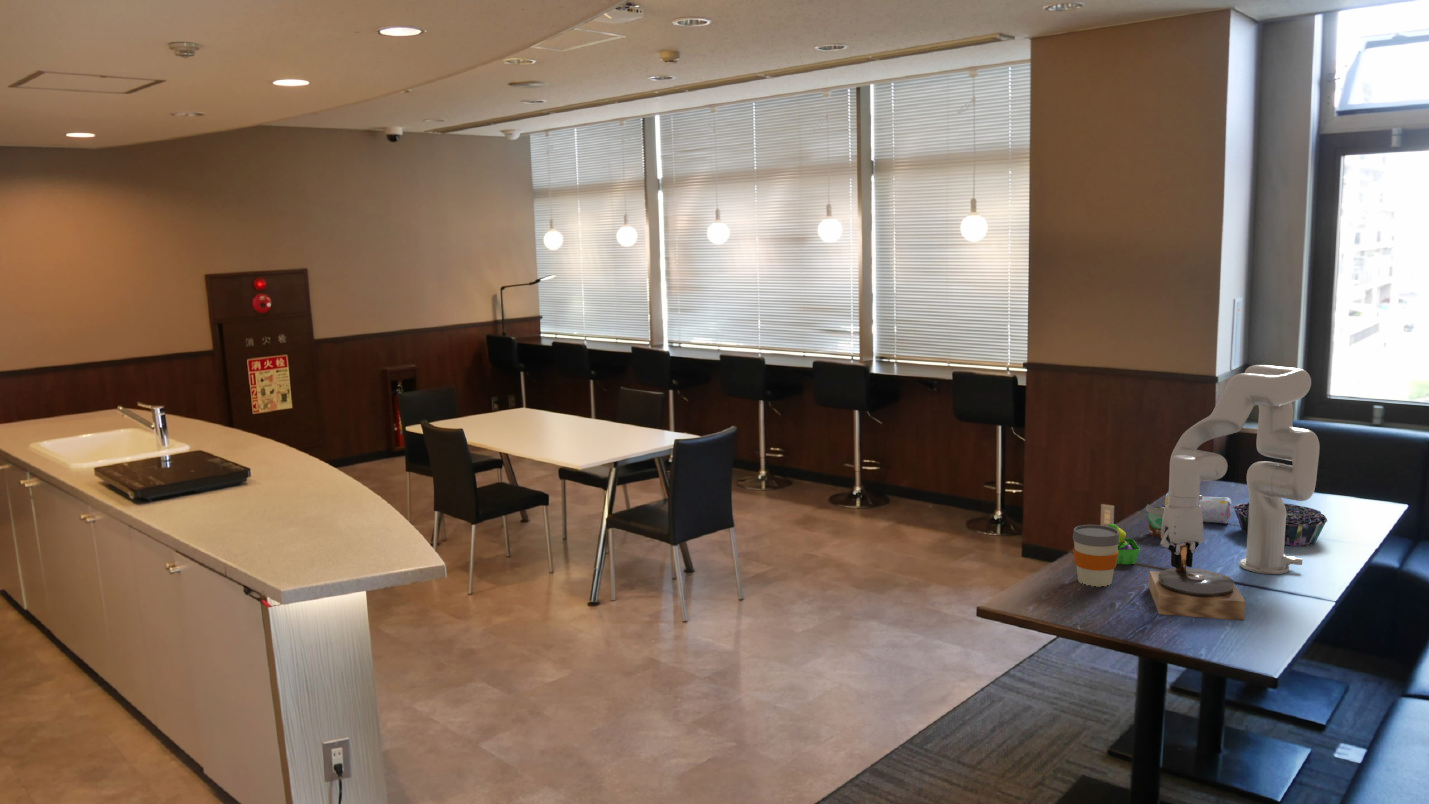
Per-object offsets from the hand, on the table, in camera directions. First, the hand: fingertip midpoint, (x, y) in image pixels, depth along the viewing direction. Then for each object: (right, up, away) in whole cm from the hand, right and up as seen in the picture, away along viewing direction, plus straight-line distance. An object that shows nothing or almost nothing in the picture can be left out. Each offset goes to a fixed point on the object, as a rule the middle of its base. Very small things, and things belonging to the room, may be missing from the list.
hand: (1181, 566), depth 269 cm
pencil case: (+39, +4, +71) cm, 81 cm away
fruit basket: (-3, -4, +32) cm, 32 cm away
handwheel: (+1, -4, -6) cm, 7 cm away
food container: (+20, 0, +53) cm, 56 cm away
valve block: (+1, -9, -5) cm, 11 cm away
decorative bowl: (+55, +1, +50) cm, 75 cm away
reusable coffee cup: (-18, -7, +14) cm, 24 cm away
